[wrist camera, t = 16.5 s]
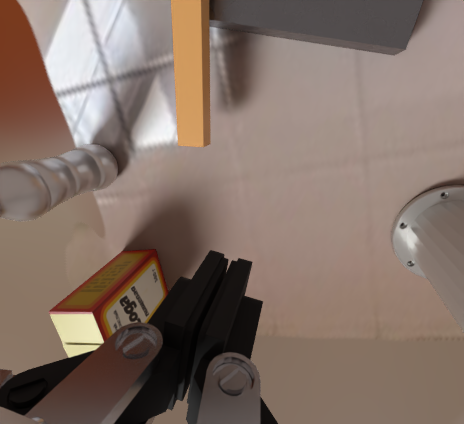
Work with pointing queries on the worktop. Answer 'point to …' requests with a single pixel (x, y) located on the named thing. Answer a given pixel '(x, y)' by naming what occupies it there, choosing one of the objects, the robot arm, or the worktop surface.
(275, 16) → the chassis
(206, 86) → the light orange bar
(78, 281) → the worktop surface
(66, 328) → the red and yellow box
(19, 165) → the plastic bottle
